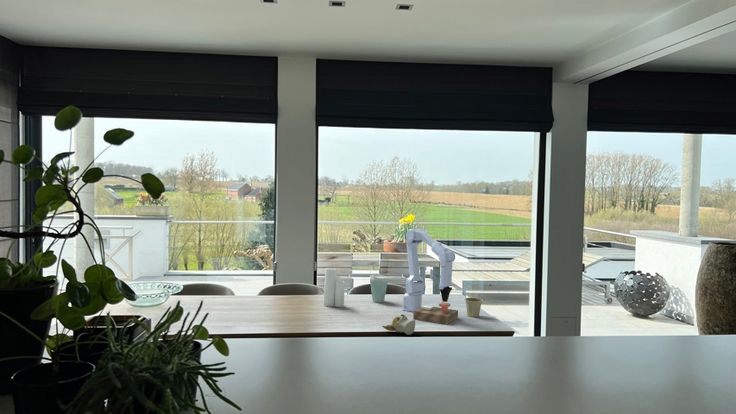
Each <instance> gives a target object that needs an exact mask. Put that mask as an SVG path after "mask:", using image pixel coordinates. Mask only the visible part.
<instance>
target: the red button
mask: <svg viewBox="0 0 736 414" xmlns="http://www.w3.org/2000/svg"><path fill="white" fill-rule="evenodd" d="M438 307H439V308H442V310H441V312H443V313H447V312H448V309H449V307H451V303H448V302H441V303H439V304H438Z"/></svg>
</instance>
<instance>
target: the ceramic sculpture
mask: <svg viewBox="0 0 736 414" xmlns="http://www.w3.org/2000/svg"><path fill="white" fill-rule="evenodd" d="M382 328H384V329H385V330H387V331H389V332H395V333H399V332H400V333H399V334H403V333H404V334H406V335H407V336H409V335H410V336H411V335H413V333H414V331H415V330H416V319H408V317H407V315H405V314H404V313H403V314H401V315H400V316H395V317H394V318H393V319H392V321H391V324H387V325H382Z"/></svg>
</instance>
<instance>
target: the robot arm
mask: <svg viewBox="0 0 736 414" xmlns="http://www.w3.org/2000/svg"><path fill="white" fill-rule="evenodd" d="M405 237H406V249H407V250H406V251H407V260H408V273H409V277H408V278H407V279H405V293H404V295H403V302H402V311H405V312H413V313H414V311H415V310H417V309H419V308H421V307H422V304H423V303H422V300H423V295H424V292H425V291H426V284H425V282H424V278H423V277H422V276H421V275H420V265H419V254H418V246H419V245H420V244H421V243H422V242H424V243H426V245H428V246H429V247H430V248H431V249H430V250H431V251H432V253H434V254H435V255H436V257H438V260H439V264H440V274H439V275H440V276H439V284H438V290H439V292H440V295H441V301H442V303H448V300H449V296H450V294H451V291H452V290H453V287H454V286H455V285H454V284H453V281H452V279H453V278H452V277H453V275H452V274H453V262H454V261H456V254H455V253H454V251H453V250H449V249H448V248H447V247H445V246H444V245H443V243H442V242H438V241H435V240H434V239H433V238H432V237H431V235H429V232H428V230H426V229H424V228H409V229H408V230H407V231H406V233H405Z"/></svg>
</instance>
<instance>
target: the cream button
mask: <svg viewBox="0 0 736 414" xmlns="http://www.w3.org/2000/svg"><path fill="white" fill-rule="evenodd" d="M421 307H422V309H425V310H432V309H433V308H434V307H435V306H432V305H423V306H421Z"/></svg>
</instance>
